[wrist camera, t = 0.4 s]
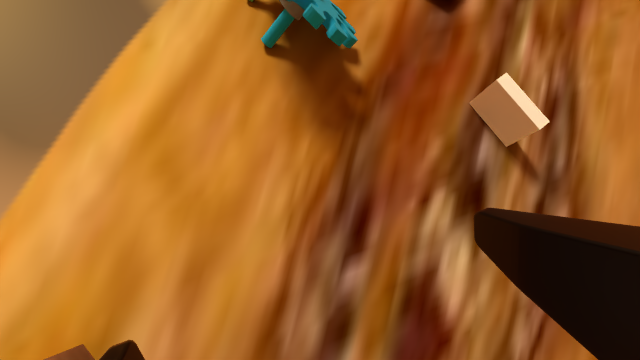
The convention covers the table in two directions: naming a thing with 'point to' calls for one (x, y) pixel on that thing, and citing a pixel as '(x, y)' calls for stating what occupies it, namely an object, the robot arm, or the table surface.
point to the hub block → (73, 354)
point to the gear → (312, 21)
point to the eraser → (508, 111)
